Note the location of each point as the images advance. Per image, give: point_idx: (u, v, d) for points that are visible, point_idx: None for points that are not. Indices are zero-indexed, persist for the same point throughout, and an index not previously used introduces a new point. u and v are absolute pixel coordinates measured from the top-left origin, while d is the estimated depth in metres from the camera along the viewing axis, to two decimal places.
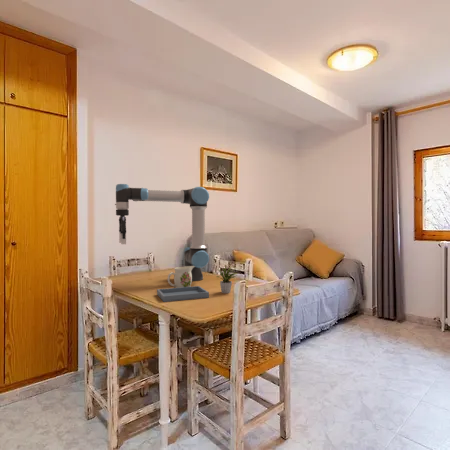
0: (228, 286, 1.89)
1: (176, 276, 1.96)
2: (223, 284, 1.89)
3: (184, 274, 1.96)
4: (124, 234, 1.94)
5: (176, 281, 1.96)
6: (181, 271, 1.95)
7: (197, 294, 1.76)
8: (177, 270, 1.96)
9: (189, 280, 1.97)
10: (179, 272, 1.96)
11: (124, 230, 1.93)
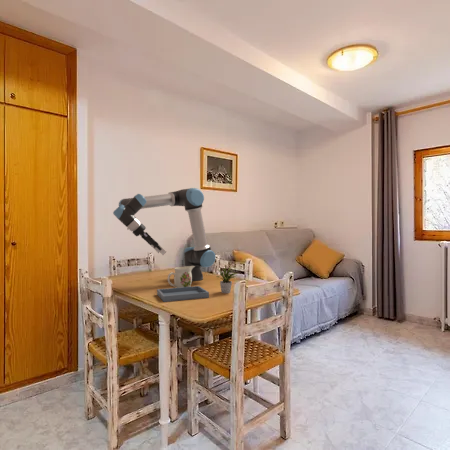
0: (228, 286, 1.89)
1: (176, 276, 1.96)
2: (223, 284, 1.89)
3: (184, 274, 1.96)
4: (158, 246, 1.86)
5: (176, 281, 1.96)
6: (181, 271, 1.95)
7: (197, 294, 1.76)
8: (177, 270, 1.96)
9: (189, 280, 1.97)
10: (179, 272, 1.96)
11: (155, 243, 1.83)
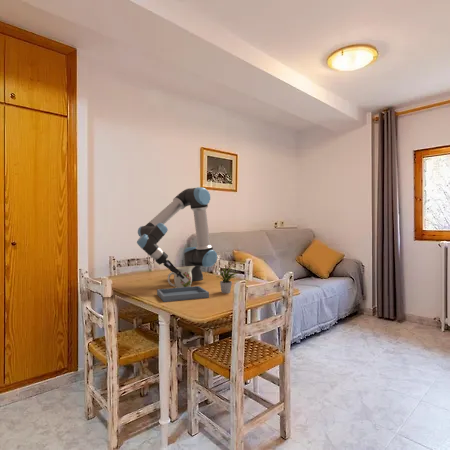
0: (228, 286, 1.89)
1: (176, 276, 1.96)
2: (223, 284, 1.89)
3: (184, 274, 1.96)
4: (181, 275, 1.92)
5: (176, 281, 1.96)
6: (181, 271, 1.95)
7: (197, 294, 1.76)
8: None
9: (189, 280, 1.97)
10: None
11: (178, 272, 1.90)
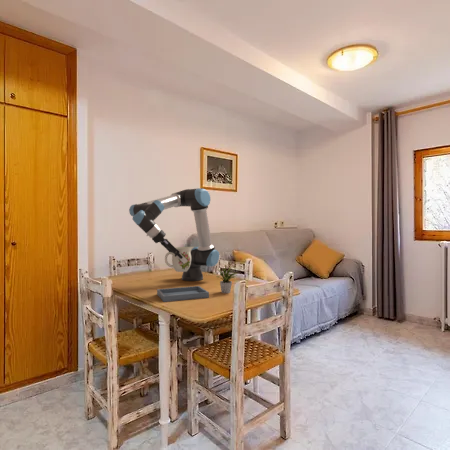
0: (228, 286, 1.89)
1: (174, 256, 1.83)
2: (223, 284, 1.89)
3: (183, 254, 1.82)
4: (179, 254, 1.79)
5: (174, 261, 1.83)
6: (180, 251, 1.82)
7: (197, 294, 1.76)
8: None
9: (188, 261, 1.83)
10: None
11: (176, 251, 1.76)
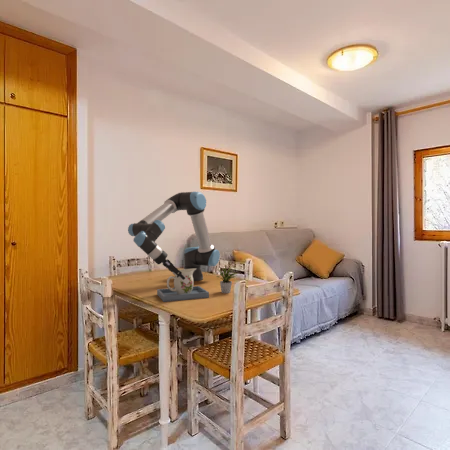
0: (228, 286, 1.89)
1: (176, 280, 1.79)
2: (223, 284, 1.89)
3: None
4: (181, 275, 1.74)
5: (176, 286, 1.79)
6: None
7: (197, 294, 1.76)
8: None
9: (190, 284, 1.80)
10: None
11: (179, 273, 1.71)
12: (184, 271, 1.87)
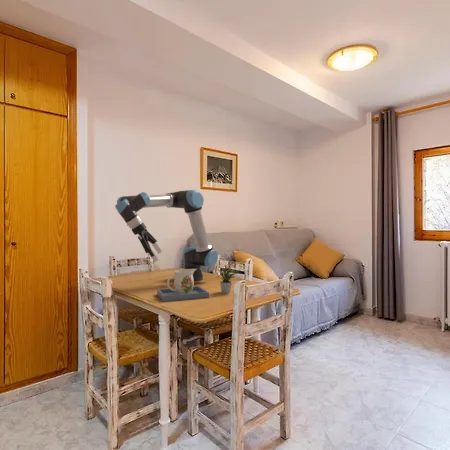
0: (228, 286, 1.89)
1: (176, 280, 1.79)
2: (223, 284, 1.89)
3: (185, 277, 1.78)
4: (150, 252, 1.74)
5: (176, 285, 1.79)
6: (182, 275, 1.78)
7: (197, 294, 1.76)
8: (177, 273, 1.79)
9: (191, 284, 1.80)
10: (180, 275, 1.78)
11: (147, 249, 1.72)
12: (184, 271, 1.88)
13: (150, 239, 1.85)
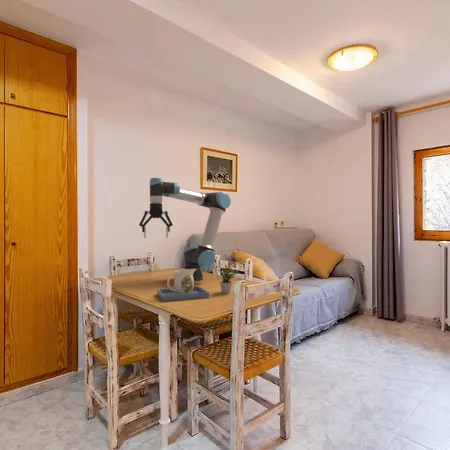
0: (228, 286, 1.89)
1: (176, 280, 1.79)
2: (223, 284, 1.89)
3: (185, 277, 1.78)
4: (142, 228, 1.98)
5: (176, 286, 1.79)
6: (182, 275, 1.78)
7: (197, 294, 1.76)
8: (177, 273, 1.79)
9: (191, 284, 1.80)
10: (180, 275, 1.78)
11: (139, 224, 1.97)
12: (184, 271, 1.88)
13: (163, 221, 2.02)
